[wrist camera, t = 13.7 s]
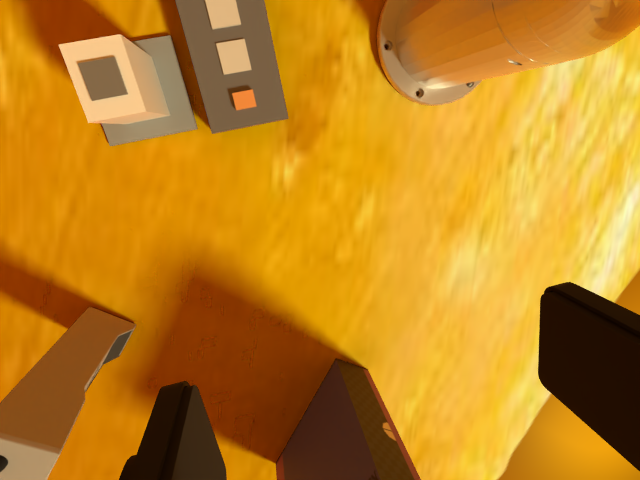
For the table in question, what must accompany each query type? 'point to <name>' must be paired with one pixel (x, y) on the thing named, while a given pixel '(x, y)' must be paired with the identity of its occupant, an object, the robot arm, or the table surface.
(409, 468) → the cereal box
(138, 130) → the rubber mat
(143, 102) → the plug
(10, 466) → the vintage mobile phone
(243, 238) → the table surface
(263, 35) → the charging dock
